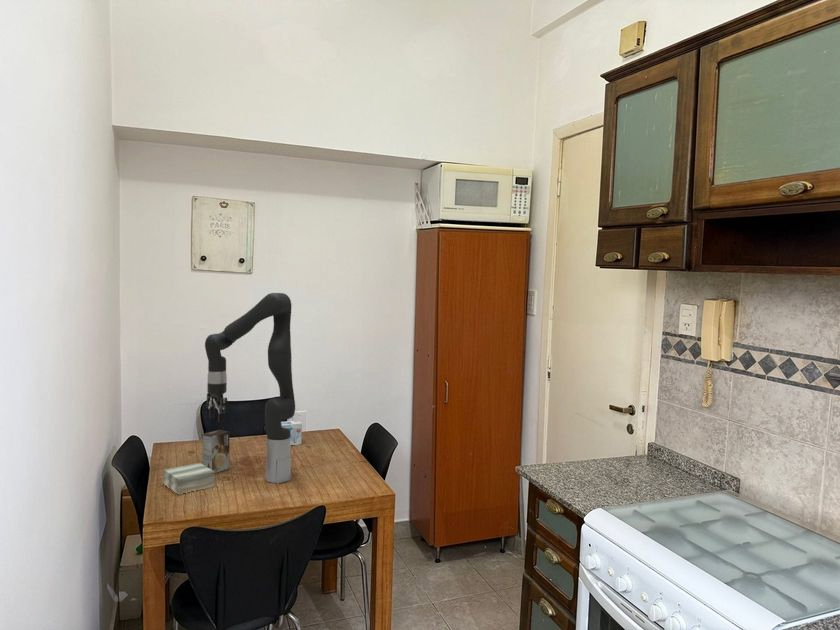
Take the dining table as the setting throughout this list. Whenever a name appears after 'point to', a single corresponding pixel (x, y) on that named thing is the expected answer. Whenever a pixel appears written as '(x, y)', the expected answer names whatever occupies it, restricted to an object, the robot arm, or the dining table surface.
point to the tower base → (189, 478)
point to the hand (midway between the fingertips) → (216, 419)
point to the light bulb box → (294, 431)
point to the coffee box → (216, 450)
